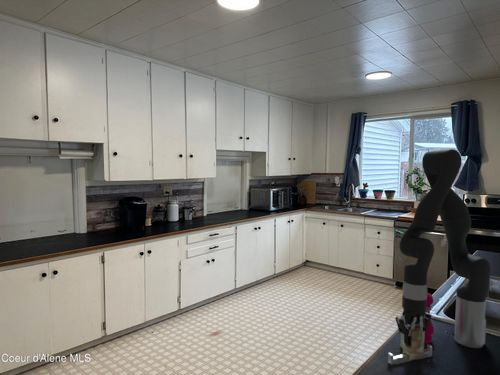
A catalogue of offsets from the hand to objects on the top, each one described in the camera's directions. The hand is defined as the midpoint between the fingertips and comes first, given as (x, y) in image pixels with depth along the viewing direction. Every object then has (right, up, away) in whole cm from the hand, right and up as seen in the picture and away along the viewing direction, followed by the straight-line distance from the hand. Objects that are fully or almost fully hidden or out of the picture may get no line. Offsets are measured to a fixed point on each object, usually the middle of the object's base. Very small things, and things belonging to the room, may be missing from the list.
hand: (412, 344), depth 117 cm
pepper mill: (+10, -5, +14) cm, 18 cm away
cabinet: (+3, -5, +7) cm, 9 cm away
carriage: (0, -4, 0) cm, 4 cm away
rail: (-1, -5, 0) cm, 5 cm away
